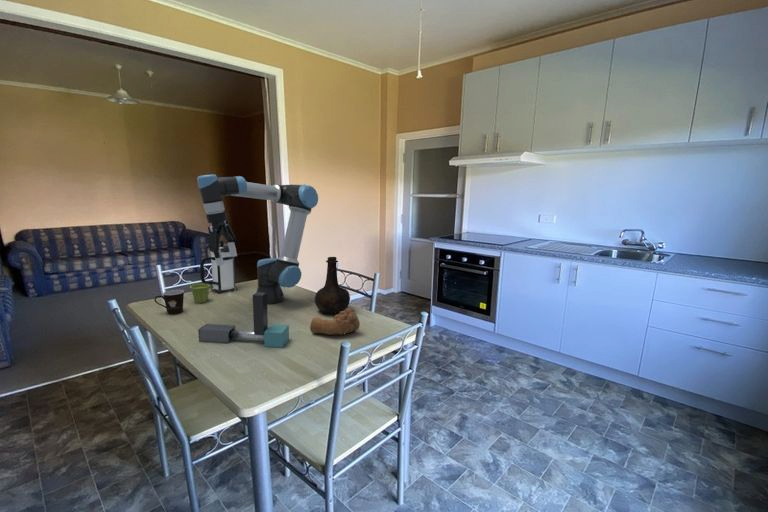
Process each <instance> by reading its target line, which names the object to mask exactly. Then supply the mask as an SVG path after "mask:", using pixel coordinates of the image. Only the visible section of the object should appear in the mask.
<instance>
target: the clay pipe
mask: <svg viewBox="0 0 768 512" xmlns="http://www.w3.org/2000/svg"><path fill="white" fill-rule="evenodd" d="M360 325H361V324H360V320H359V317H358V315H357V314H356V311H355V310H354V309H353V308H351V307H347V308H346V309H345V310H344V311H342V312H339V313H336V314H335V315H334V316H333V319H323V318H320V317H313V318H312V320H311V322H310V325H309V330H310V332H311V333H312V334H324V335H339V334H340V335H339V336H341V335H343V334H344V333H347V334H348V333H352V331H353V332H356V330H357V331H358V330H359V329H360ZM344 335H345V334H344Z"/></svg>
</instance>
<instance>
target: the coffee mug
mask: <svg viewBox="0 0 768 512" xmlns="http://www.w3.org/2000/svg"><path fill="white" fill-rule="evenodd" d="M184 295H185V291H184V290H183V289H172V290H166V291H164V292H163V293H162V295H157V296H155V297H154V302H155V303H156V304H158V305H159V306H161V307H163V308H165V309H166V313H167V315H178V314H182V313H183V312H184V299H185V296H184ZM157 298H162V299H163V301H164V304H165V305H164V304H161V303H159V302H158V301H157Z"/></svg>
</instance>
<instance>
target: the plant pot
mask: <svg viewBox="0 0 768 512" xmlns="http://www.w3.org/2000/svg"><path fill="white" fill-rule="evenodd" d="M210 287H211V285H209V284H204V283H197V284H196V283H195V284H191V285H190V286H189V288H190V291H191V292H192V296H193V301H194V303H197V304H203V303H205V302H206V303H207V302H208V299H209V298H208V297H209V290H210Z"/></svg>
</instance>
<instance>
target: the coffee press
mask: <svg viewBox="0 0 768 512" xmlns="http://www.w3.org/2000/svg"><path fill="white" fill-rule="evenodd" d="M219 250H221V254H222V258H223V262H224V265H219V266H217V263H216V260H215V256H214V252H213V251H210V250H209V252H210V256H206V257H204V258H202V259H201V261H200V262H199V263H200V264H199V272H200V282H202V284H209V285H210V286H211V285H212V287H211V288H210V290H211V291H214V290H216V291H217V294H222V292H223V291H229V290H231V289H232V290H234V291H237V290H238V287H237V286H236V275H235V273H236V272H235V256H234V257H231V255H230V251H229V247H228V243H225V241H224V240H222V239H220V245H219ZM207 261H211V262H210V263H211V278H212V280H211V281H207V280H206V277H205V263H206V262H207Z"/></svg>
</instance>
